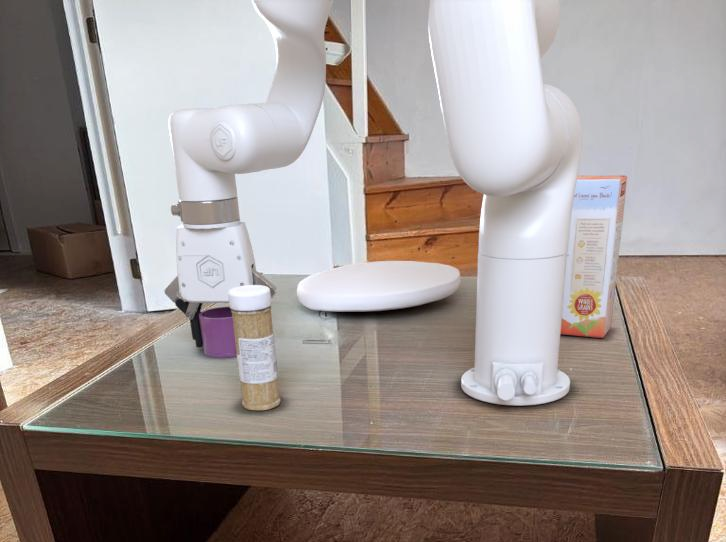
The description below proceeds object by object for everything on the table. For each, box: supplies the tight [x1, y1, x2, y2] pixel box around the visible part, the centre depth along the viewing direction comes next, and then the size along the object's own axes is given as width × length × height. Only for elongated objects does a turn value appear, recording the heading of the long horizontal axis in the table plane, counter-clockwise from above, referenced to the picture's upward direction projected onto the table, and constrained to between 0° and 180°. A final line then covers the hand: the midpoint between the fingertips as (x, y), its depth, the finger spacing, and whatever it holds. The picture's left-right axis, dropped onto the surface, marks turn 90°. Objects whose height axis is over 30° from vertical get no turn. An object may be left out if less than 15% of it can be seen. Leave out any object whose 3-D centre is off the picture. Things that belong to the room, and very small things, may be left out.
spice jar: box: [228, 285, 282, 412], centre depth 81 cm, size 5×5×14 cm
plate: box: [296, 260, 462, 313], centre depth 125 cm, size 28×6×27 cm
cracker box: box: [560, 174, 628, 339], centre depth 102 cm, size 14×6×21 cm, turn 63°
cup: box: [199, 306, 237, 359], centre depth 103 cm, size 7×7×6 cm
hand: (227, 343), depth 104 cm, fingers closed on cup, 6 cm apart
